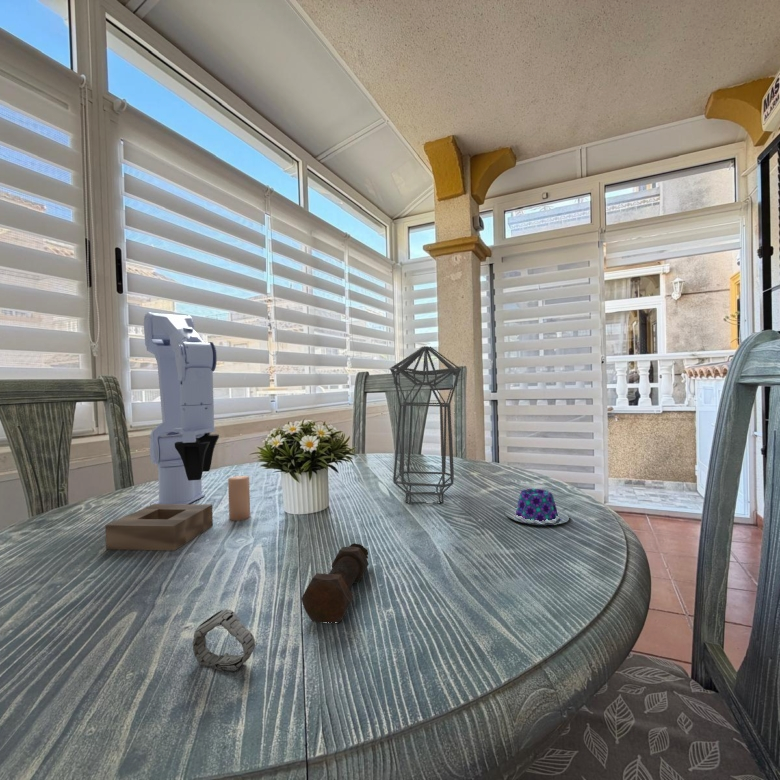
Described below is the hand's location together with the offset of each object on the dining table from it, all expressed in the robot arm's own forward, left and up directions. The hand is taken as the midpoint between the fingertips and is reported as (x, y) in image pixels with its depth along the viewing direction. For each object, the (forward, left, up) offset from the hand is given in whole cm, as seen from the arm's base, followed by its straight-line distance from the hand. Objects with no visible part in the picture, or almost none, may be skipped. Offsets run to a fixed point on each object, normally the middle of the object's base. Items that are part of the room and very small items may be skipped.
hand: (199, 475), depth 80 cm
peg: (-5, +5, -10) cm, 12 cm away
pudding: (-7, +64, -10) cm, 66 cm away
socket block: (+6, -4, -10) cm, 12 cm away
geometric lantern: (-20, +43, -10) cm, 49 cm away
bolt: (+23, +33, -10) cm, 42 cm away
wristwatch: (+38, +24, -10) cm, 46 cm away
